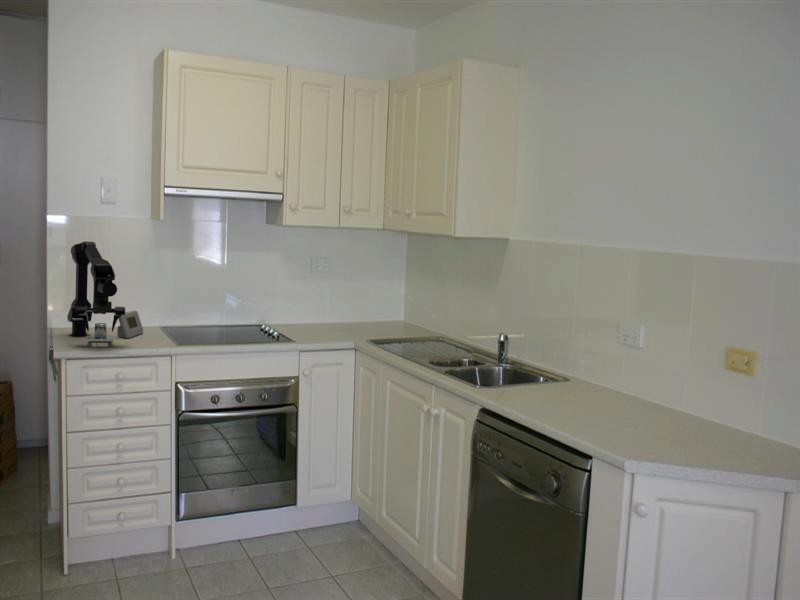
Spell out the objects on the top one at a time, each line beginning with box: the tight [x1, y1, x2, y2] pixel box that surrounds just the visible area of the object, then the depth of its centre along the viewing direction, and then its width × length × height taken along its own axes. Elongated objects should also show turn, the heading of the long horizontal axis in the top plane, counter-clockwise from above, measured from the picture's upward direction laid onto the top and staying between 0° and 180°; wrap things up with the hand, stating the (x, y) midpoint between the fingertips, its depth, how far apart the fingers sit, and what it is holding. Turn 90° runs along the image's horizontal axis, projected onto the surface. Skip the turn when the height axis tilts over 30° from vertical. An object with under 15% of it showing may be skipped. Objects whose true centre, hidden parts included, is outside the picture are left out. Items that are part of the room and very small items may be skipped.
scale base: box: [87, 338, 114, 348], centre depth 304 cm, size 10×9×2 cm
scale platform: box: [87, 334, 114, 342], centre depth 304 cm, size 10×9×1 cm
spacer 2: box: [94, 325, 107, 339], centre depth 301 cm, size 4×4×5 cm
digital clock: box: [117, 310, 144, 339], centre depth 328 cm, size 16×9×11 cm, turn 164°
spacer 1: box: [94, 322, 108, 336], centre depth 306 cm, size 4×4×5 cm
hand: (100, 331), depth 301 cm, fingers open, 9 cm apart
